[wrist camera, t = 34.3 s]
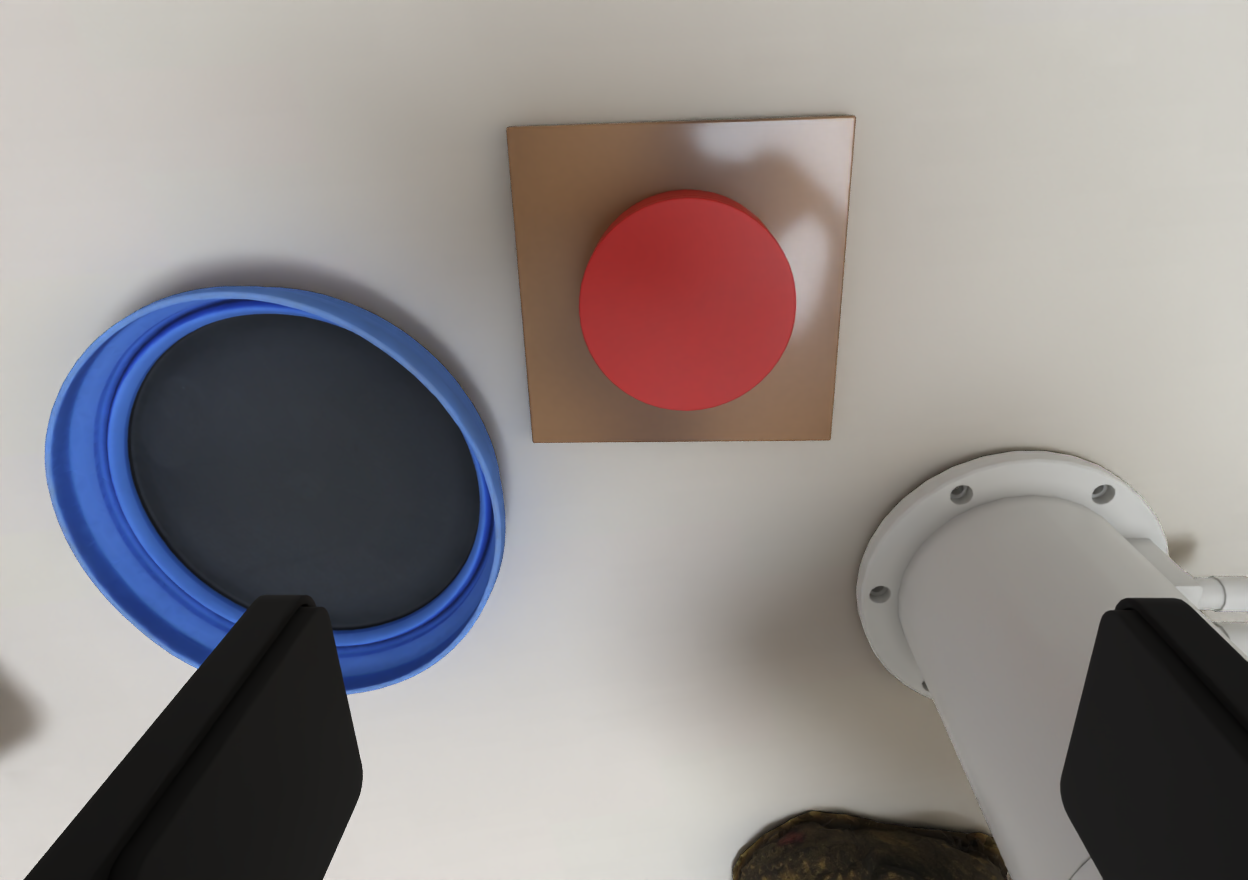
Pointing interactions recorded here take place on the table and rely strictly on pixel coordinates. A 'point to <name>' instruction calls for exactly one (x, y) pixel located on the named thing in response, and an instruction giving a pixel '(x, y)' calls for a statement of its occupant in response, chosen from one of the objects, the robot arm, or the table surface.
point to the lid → (687, 301)
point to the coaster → (640, 168)
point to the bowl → (278, 477)
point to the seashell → (867, 852)
